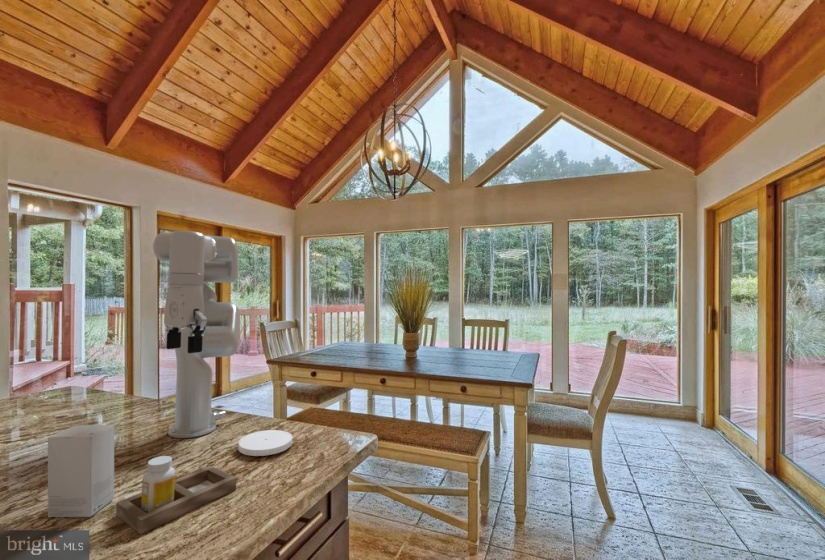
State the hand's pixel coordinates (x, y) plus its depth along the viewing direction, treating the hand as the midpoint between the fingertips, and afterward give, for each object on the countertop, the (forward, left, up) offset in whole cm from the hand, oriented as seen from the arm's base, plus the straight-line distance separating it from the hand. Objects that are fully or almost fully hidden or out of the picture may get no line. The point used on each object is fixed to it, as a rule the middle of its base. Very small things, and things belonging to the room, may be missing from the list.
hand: (183, 350), depth 94 cm
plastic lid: (-19, +8, -29) cm, 35 cm away
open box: (+8, +16, -28) cm, 33 cm away
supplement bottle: (+12, +16, -28) cm, 35 cm away
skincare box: (+20, +3, -28) cm, 35 cm away
